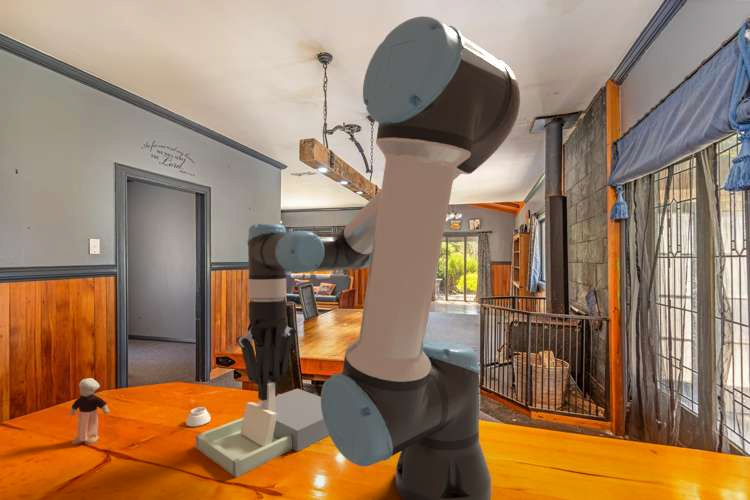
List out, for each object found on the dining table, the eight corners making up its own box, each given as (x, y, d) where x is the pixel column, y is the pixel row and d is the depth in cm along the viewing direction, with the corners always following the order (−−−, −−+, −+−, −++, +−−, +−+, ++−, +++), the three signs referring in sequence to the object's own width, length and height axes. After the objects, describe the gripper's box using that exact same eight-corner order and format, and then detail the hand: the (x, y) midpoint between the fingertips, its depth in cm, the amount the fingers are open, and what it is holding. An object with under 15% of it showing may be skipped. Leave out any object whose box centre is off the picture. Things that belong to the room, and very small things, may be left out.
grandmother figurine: (60, 447, 73) (61, 383, 73) (72, 438, 77) (72, 376, 77) (105, 443, 74) (105, 380, 75) (114, 434, 78) (114, 374, 78)
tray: (291, 449, 71) (291, 436, 71) (235, 477, 63) (235, 462, 63) (249, 426, 81) (249, 415, 81) (195, 448, 72) (195, 435, 72)
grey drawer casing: (348, 425, 81) (348, 407, 81) (297, 451, 71) (297, 430, 71) (297, 404, 93) (297, 388, 93) (246, 424, 82) (246, 406, 82)
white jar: (215, 420, 85) (198, 416, 87) (215, 407, 85) (198, 404, 87) (197, 429, 80) (180, 426, 82) (197, 416, 80) (180, 412, 82)
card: (277, 414, 73) (271, 414, 72) (271, 446, 72) (264, 447, 71) (252, 402, 79) (246, 402, 78) (246, 432, 77) (240, 433, 76)
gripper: (283, 295, 84) (283, 399, 84) (228, 301, 74) (229, 419, 74) (304, 297, 79) (305, 408, 79) (249, 304, 69) (249, 431, 69)
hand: (268, 413), depth 76 cm, fingers closed
